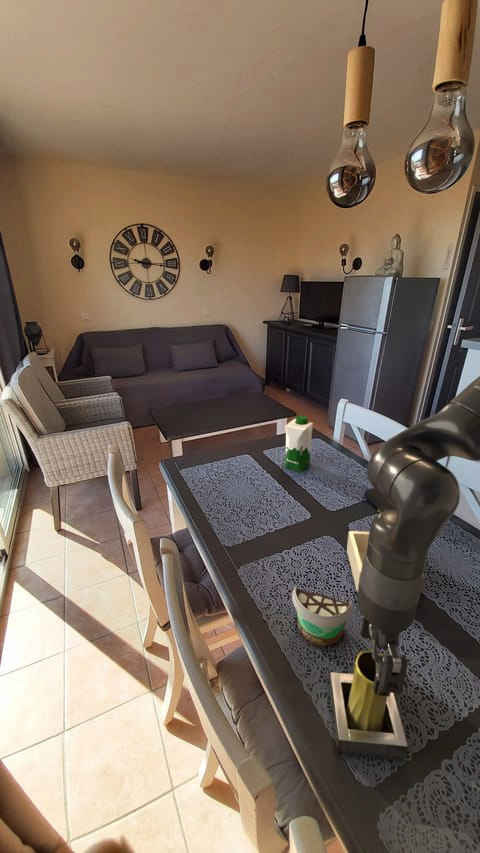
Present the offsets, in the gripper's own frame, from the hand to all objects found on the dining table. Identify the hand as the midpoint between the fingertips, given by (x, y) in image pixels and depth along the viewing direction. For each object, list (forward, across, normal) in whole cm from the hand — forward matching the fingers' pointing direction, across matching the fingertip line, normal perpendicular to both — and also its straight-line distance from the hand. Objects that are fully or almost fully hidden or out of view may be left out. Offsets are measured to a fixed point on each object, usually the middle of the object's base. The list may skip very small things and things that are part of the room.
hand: (373, 662), depth 55 cm
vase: (+15, 0, 0) cm, 16 cm away
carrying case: (+15, +61, -20) cm, 66 cm away
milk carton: (+15, +84, +7) cm, 86 cm away
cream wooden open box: (+15, +33, -11) cm, 38 cm away
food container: (+15, +14, +6) cm, 22 cm away
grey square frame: (+15, 0, 0) cm, 15 cm away
